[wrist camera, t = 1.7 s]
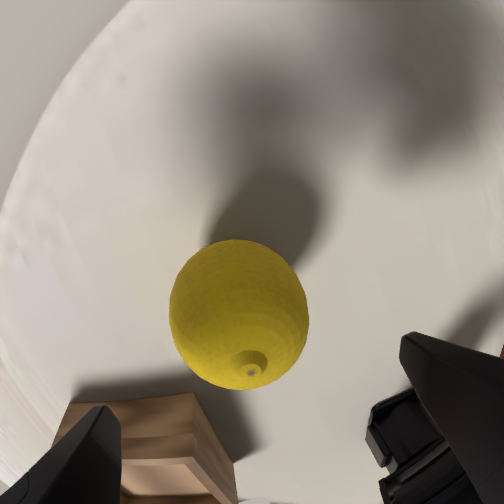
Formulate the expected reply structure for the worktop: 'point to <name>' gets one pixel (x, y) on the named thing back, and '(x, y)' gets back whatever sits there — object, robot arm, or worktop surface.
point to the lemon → (238, 314)
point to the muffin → (502, 353)
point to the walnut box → (166, 451)
